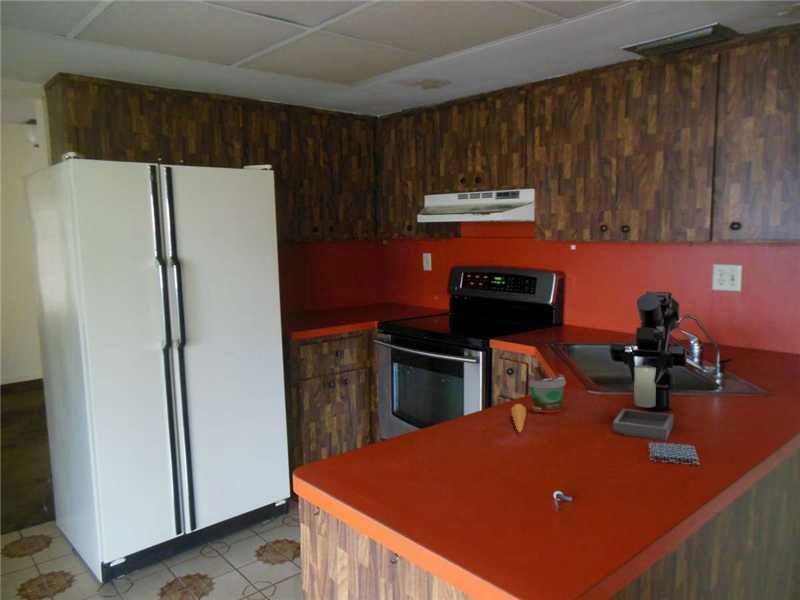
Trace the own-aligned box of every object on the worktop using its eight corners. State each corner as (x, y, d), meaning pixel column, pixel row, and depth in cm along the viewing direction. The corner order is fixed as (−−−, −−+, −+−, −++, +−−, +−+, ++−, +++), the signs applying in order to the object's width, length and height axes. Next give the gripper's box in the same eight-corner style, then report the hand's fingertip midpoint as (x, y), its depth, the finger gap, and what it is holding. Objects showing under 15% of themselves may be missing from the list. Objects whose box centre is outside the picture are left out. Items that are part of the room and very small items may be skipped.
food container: (542, 417, 170) (542, 383, 169) (529, 412, 175) (528, 379, 174) (575, 410, 175) (574, 377, 174) (560, 405, 181) (560, 373, 180)
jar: (630, 404, 157) (630, 367, 155) (641, 400, 159) (641, 364, 158) (648, 408, 152) (648, 371, 151) (659, 404, 155) (659, 367, 154)
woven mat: (694, 451, 142) (694, 443, 142) (700, 468, 132) (700, 459, 132) (647, 447, 146) (647, 439, 145) (649, 464, 136) (649, 455, 135)
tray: (612, 433, 155) (612, 422, 154) (622, 418, 166) (622, 408, 165) (666, 440, 148) (666, 429, 148) (673, 425, 159) (673, 414, 159)
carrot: (514, 418, 173) (508, 404, 173) (528, 413, 172) (522, 399, 171) (515, 449, 154) (508, 434, 153) (531, 444, 153) (525, 429, 152)
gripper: (611, 313, 161) (602, 361, 153) (686, 316, 152) (681, 367, 144) (616, 337, 169) (608, 383, 161) (688, 340, 159) (684, 391, 151)
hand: (644, 381), depth 154 cm, fingers closed on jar, 5 cm apart
